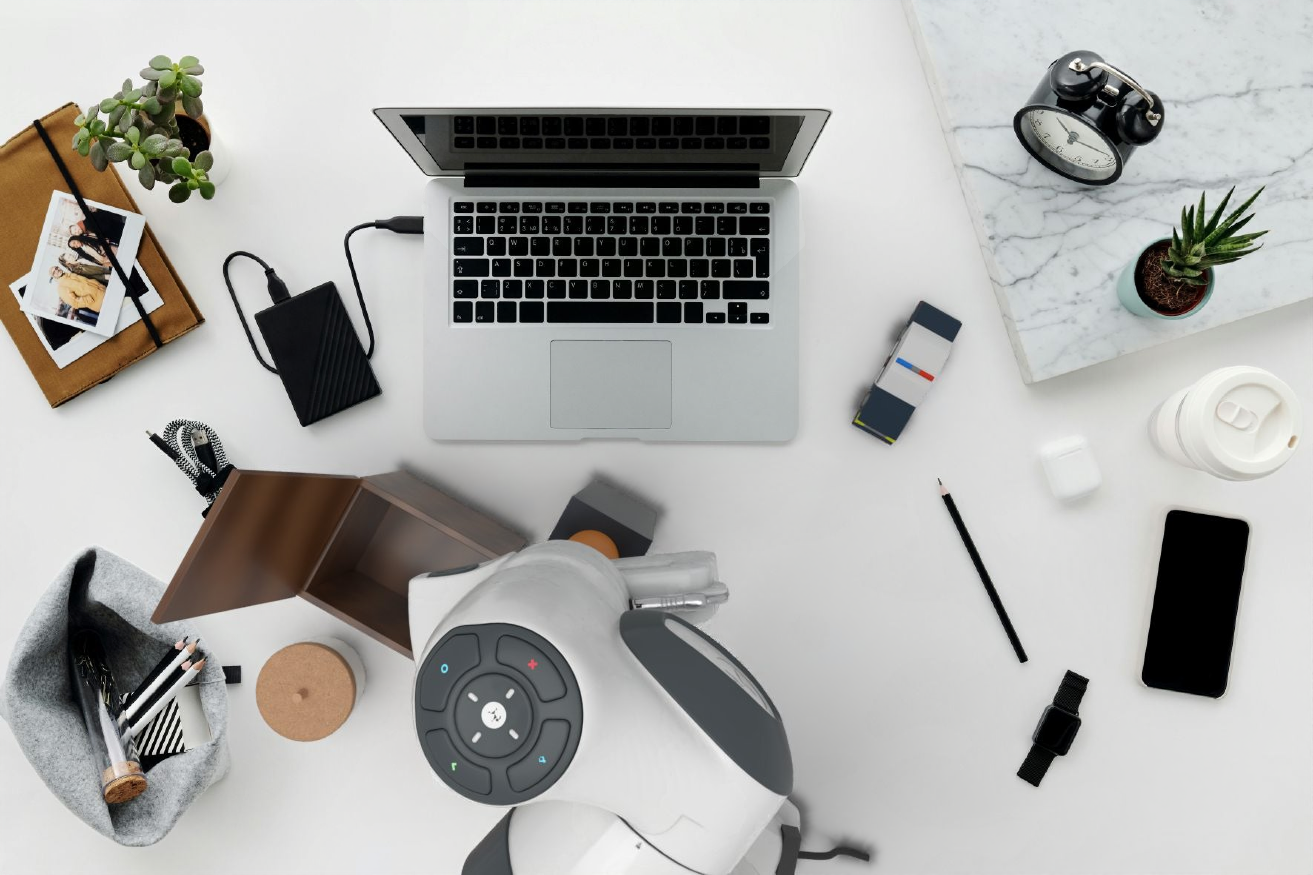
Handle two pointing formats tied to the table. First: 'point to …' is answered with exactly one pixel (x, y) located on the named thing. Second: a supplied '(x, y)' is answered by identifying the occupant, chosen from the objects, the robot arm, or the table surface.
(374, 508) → the chest
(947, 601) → the table surface
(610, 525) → the stand
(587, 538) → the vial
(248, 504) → the chest lid
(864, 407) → the toy car
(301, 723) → the trinket box
